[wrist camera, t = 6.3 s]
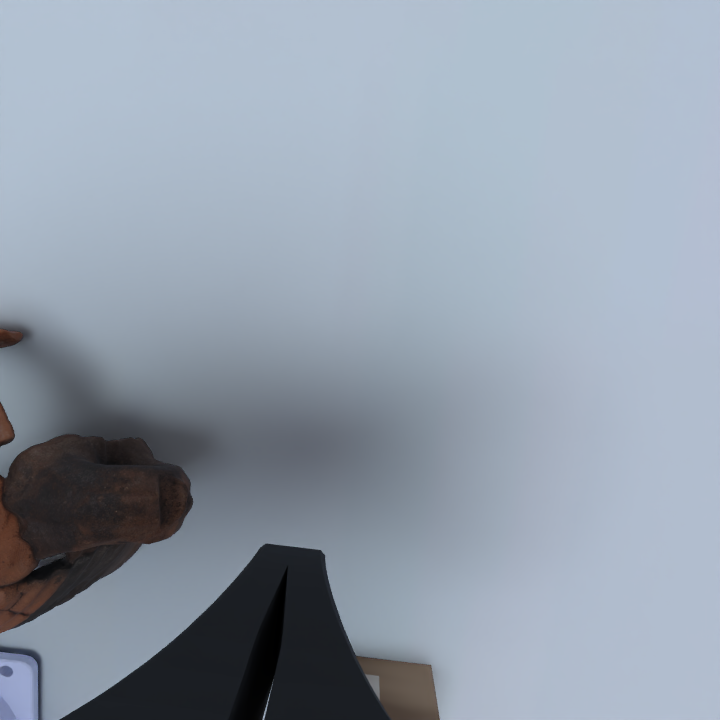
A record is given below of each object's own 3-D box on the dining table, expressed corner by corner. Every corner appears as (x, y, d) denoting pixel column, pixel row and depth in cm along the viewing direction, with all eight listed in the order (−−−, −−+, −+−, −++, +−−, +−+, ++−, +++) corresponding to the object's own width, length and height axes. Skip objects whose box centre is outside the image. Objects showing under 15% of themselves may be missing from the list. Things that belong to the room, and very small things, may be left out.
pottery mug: (-4, 601, 20) (-331, 680, 13) (20, 371, 22) (-245, 320, 15) (260, 607, 17) (29, 723, 9) (258, 333, 19) (70, 240, 11)
